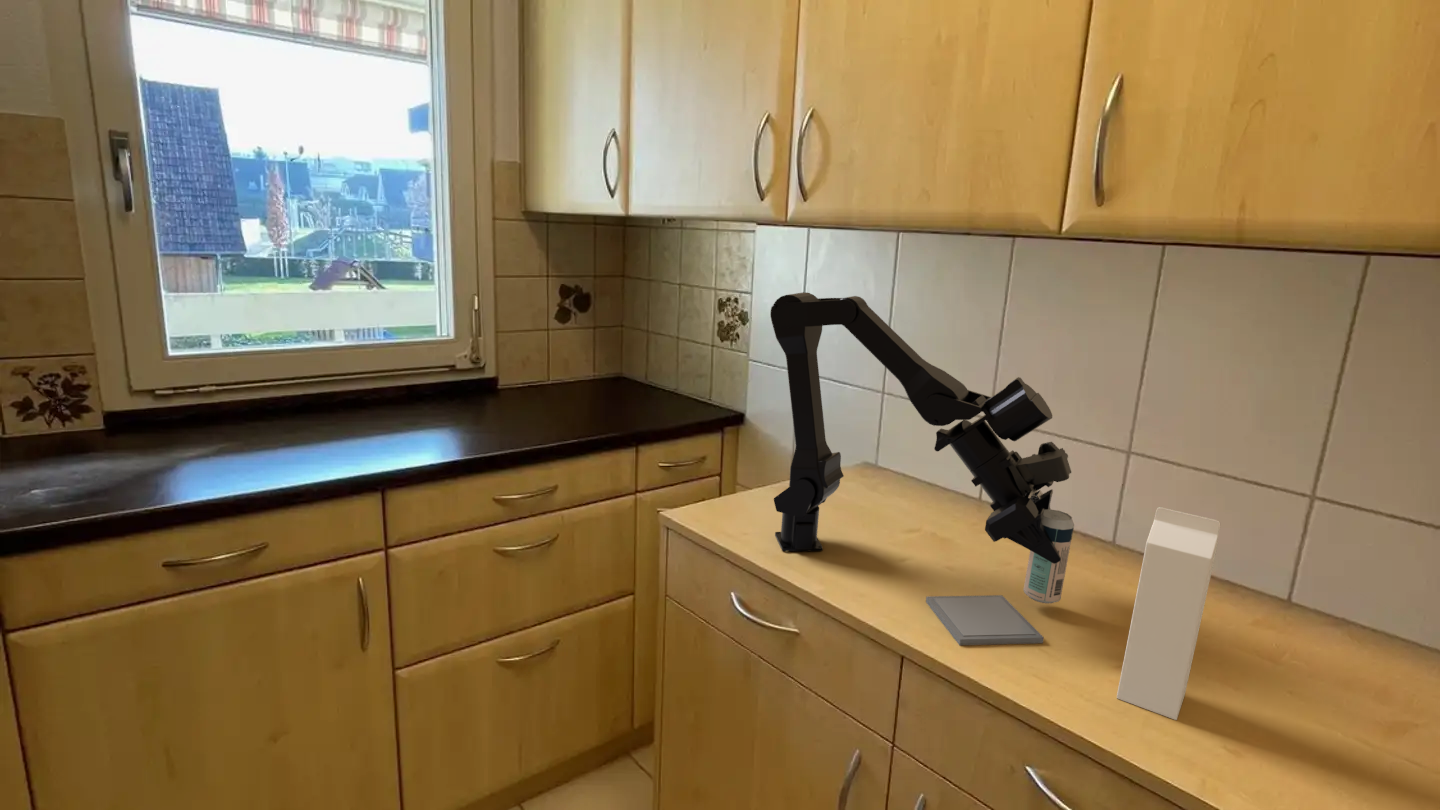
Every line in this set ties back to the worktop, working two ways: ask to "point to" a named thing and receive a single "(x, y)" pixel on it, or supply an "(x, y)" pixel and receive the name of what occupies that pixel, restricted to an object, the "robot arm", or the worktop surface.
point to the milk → (1168, 611)
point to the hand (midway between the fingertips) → (1060, 555)
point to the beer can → (1043, 574)
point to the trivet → (983, 620)
